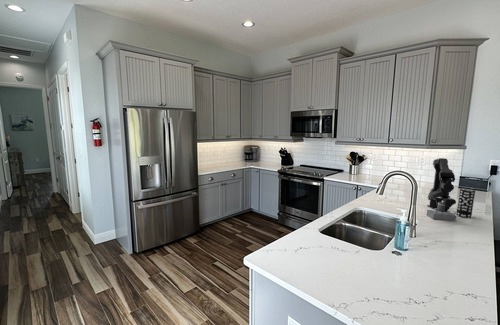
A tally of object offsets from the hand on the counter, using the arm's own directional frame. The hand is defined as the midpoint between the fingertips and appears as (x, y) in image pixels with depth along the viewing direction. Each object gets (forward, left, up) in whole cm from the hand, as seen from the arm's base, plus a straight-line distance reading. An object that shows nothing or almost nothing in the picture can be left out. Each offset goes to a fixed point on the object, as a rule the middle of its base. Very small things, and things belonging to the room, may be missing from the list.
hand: (441, 209), depth 171 cm
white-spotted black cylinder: (-8, +19, -6) cm, 22 cm away
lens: (0, 0, -2) cm, 2 cm away
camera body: (0, 0, -6) cm, 6 cm away
